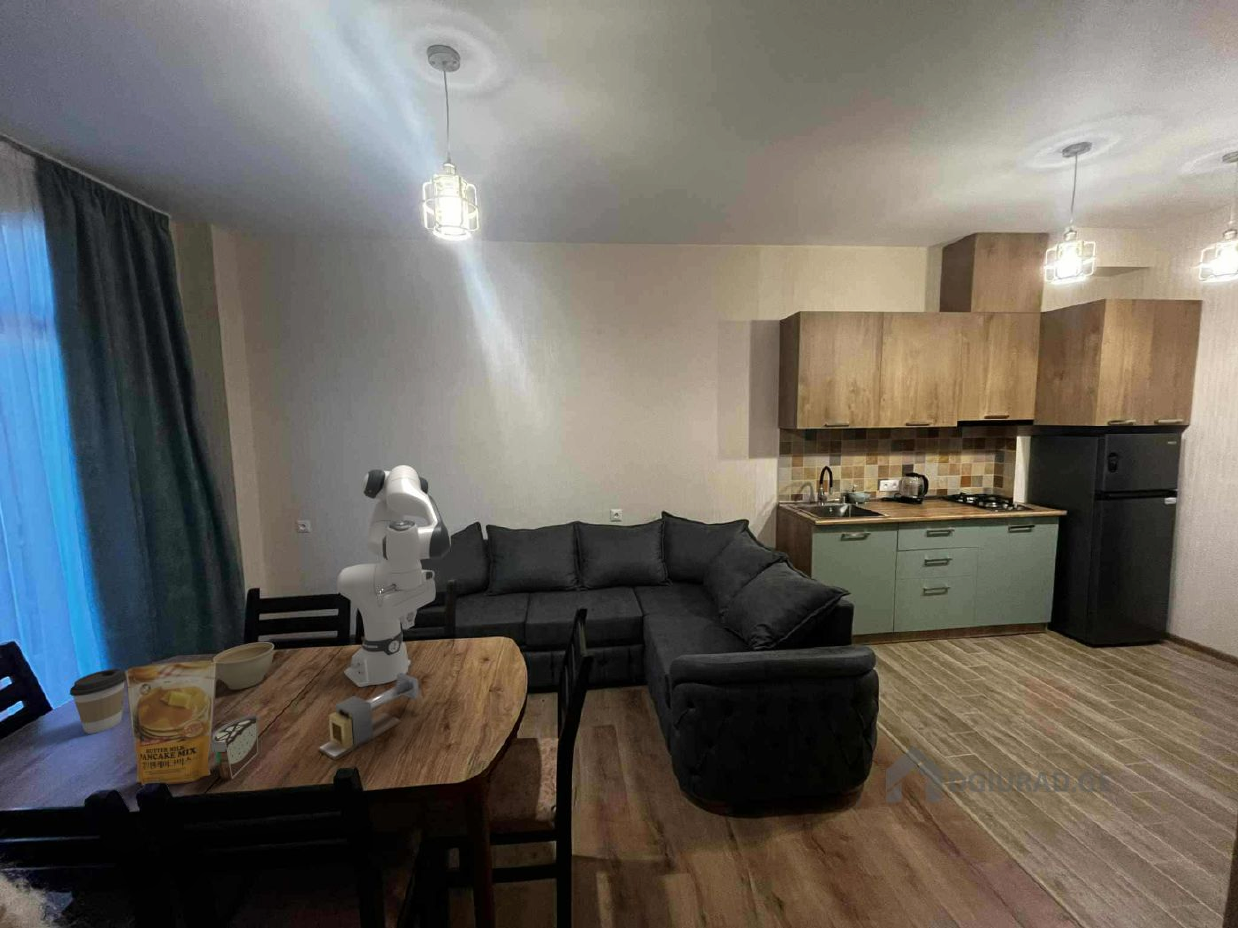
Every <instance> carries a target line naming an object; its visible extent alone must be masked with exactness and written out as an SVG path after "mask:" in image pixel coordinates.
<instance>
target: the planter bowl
mask: <svg viewBox="0 0 1238 928" xmlns="http://www.w3.org/2000/svg"><path fill="white" fill-rule="evenodd" d="M274 649H275V645H274V644H273V643H272V642H268V641H267V642H266V641H261V642H260V641H258V642H251V643H246V644H242V645H239V646H238V645H237V646H235V647H231V648H229V649H226V650H224V651H222V652H220V653H218V654H217V655H215V656H214V657H213V660H212V661H213V662H217V666H218V675H217V677H218V678H219V679H220V681H222V682H223V683H224V684H226V685H227V687H228V689H229V690H243V689H247V688H250V687H254V686H256V685H257V684H260V683H261V682H262V681H264V679H265V675H266V674H267V672H268V671H269V669H270V667H271V665H272V662H273V658H274Z"/></svg>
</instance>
